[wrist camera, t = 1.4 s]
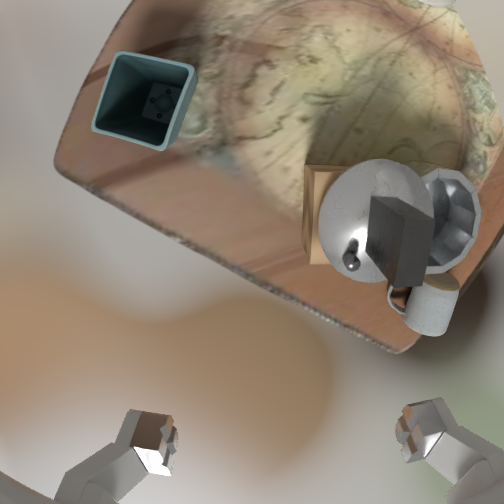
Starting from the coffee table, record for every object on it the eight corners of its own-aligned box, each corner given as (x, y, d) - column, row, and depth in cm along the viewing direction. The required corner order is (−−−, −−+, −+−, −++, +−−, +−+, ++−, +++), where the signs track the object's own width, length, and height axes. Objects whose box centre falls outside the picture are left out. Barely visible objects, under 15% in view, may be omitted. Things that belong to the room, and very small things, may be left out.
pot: (379, 156, 34) (403, 163, 28) (456, 167, 34) (486, 176, 28) (369, 252, 39) (388, 275, 33) (443, 252, 39) (468, 272, 33)
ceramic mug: (447, 266, 40) (472, 289, 33) (432, 310, 43) (452, 337, 36) (391, 261, 40) (413, 287, 33) (378, 310, 43) (394, 340, 36)
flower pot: (185, 147, 35) (164, 152, 26) (123, 128, 34) (88, 130, 25) (211, 81, 31) (196, 66, 23) (146, 64, 30) (116, 49, 22)
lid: (320, 154, 28) (345, 164, 20) (436, 165, 27) (485, 180, 19) (313, 280, 33) (328, 328, 25) (419, 277, 33) (454, 316, 25)
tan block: (304, 164, 35) (314, 171, 29) (374, 168, 35) (397, 176, 29) (301, 241, 39) (310, 264, 33) (367, 242, 39) (386, 263, 32)
